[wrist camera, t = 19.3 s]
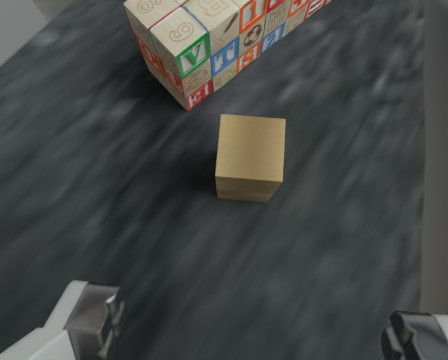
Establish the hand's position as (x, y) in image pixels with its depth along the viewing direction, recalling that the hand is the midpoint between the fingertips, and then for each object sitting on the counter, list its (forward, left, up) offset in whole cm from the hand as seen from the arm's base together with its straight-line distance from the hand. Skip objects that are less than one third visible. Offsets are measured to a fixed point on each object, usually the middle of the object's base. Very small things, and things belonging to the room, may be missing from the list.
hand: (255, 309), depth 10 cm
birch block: (0, +9, -19) cm, 21 cm away
